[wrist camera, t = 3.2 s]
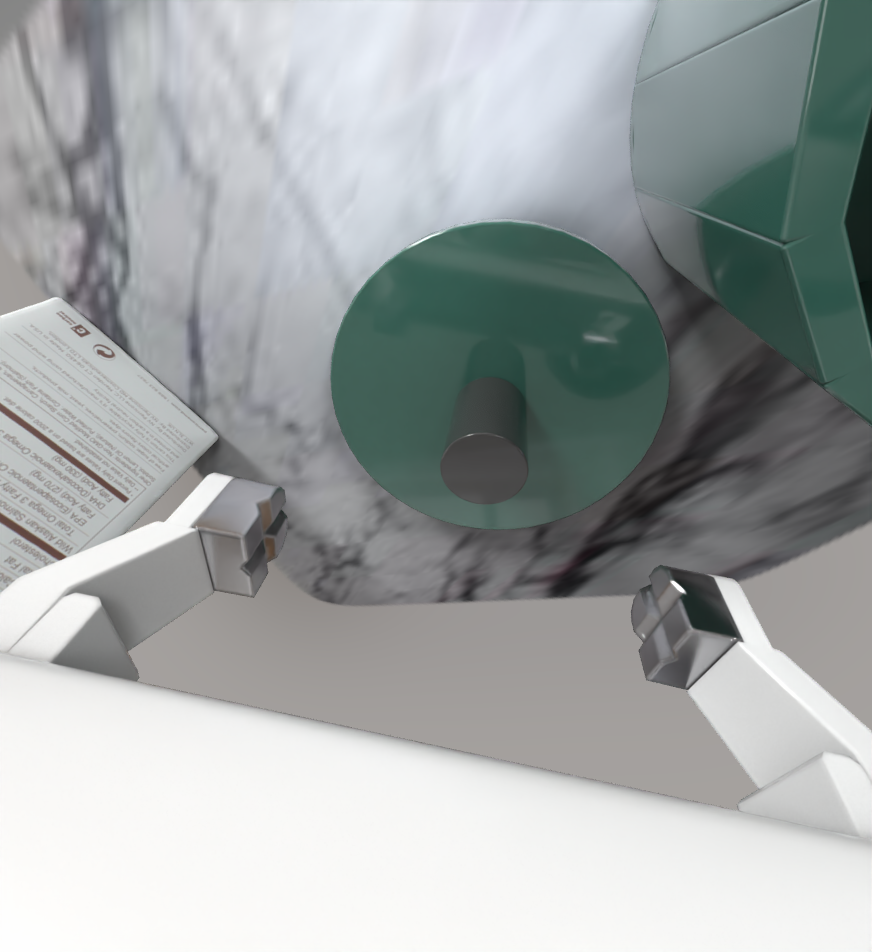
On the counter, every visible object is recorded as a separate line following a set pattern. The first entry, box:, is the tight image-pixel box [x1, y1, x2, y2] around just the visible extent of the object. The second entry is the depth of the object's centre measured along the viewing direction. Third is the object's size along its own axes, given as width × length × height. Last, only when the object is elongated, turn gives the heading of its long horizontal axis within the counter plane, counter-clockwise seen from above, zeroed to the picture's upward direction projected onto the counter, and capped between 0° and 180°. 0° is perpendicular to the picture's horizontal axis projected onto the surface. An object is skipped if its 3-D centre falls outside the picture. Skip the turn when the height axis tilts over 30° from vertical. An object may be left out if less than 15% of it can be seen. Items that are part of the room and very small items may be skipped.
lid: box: [330, 219, 670, 530], centre depth 14 cm, size 11×11×5 cm
